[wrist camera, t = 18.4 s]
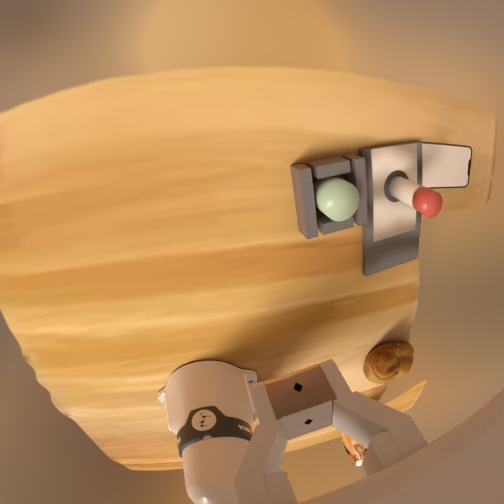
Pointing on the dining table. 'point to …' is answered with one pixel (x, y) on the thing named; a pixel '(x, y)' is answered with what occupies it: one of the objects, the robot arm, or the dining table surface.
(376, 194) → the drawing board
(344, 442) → the beer glass
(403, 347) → the bread roll
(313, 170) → the button base
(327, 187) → the button
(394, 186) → the marker
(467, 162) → the smartphone
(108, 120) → the dining table surface
